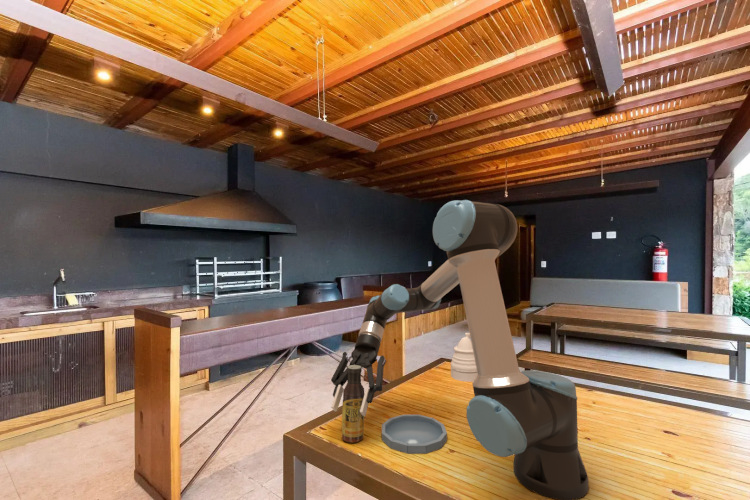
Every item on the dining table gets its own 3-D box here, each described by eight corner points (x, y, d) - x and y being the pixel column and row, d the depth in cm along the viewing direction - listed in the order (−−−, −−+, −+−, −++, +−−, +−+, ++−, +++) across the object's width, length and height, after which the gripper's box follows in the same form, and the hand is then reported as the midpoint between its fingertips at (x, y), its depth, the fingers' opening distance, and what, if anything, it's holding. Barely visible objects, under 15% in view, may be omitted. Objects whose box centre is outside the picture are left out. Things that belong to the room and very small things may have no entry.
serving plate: (451, 453, 89) (451, 445, 89) (381, 453, 89) (381, 445, 89) (440, 421, 107) (440, 414, 107) (381, 421, 107) (381, 414, 107)
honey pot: (462, 369, 156) (461, 329, 157) (488, 376, 146) (487, 334, 147) (444, 376, 148) (444, 333, 149) (470, 384, 138) (469, 338, 139)
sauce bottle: (343, 445, 93) (343, 371, 94) (340, 434, 99) (339, 364, 100) (367, 442, 95) (366, 368, 95) (362, 431, 101) (361, 362, 101)
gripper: (403, 348, 108) (387, 423, 93) (343, 343, 116) (319, 411, 100) (398, 334, 104) (380, 411, 88) (336, 330, 111) (309, 400, 96)
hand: (348, 411), depth 94 cm, fingers open, 8 cm apart
